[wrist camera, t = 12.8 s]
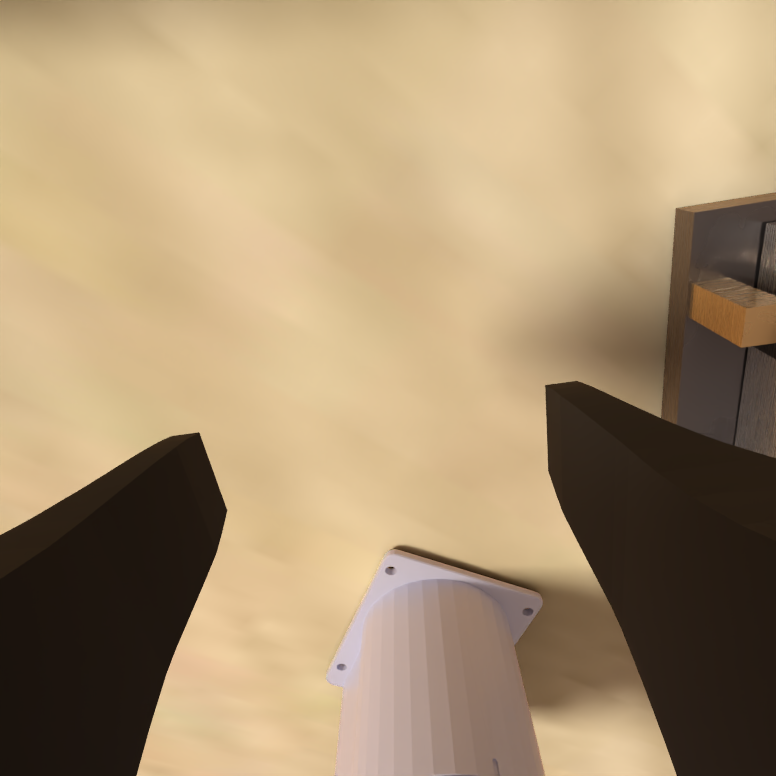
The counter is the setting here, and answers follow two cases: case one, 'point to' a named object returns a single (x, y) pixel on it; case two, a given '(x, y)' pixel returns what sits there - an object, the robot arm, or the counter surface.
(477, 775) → the robot arm
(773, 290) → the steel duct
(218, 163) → the counter surface
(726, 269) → the grey peg board
